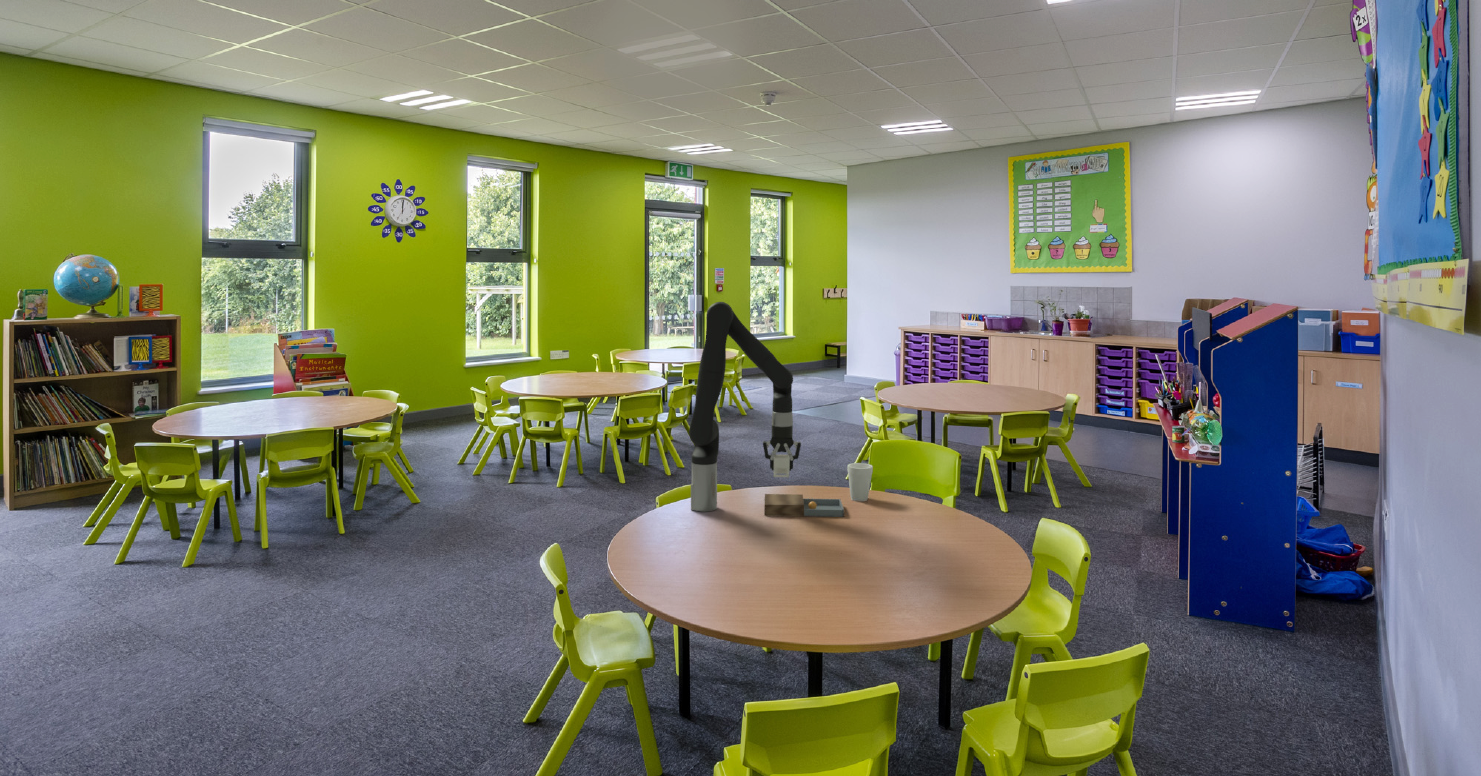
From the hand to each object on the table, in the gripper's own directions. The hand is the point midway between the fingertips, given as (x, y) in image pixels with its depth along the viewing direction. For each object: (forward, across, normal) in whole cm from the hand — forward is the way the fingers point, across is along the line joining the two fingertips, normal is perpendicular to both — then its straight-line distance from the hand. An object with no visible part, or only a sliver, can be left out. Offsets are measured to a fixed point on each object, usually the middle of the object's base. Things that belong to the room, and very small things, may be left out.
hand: (781, 469), depth 280 cm
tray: (+15, +15, 0) cm, 21 cm away
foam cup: (+15, +30, +16) cm, 37 cm away
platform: (+15, +1, 0) cm, 15 cm away
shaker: (+2, 0, 0) cm, 2 cm away
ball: (+13, +11, 0) cm, 17 cm away
